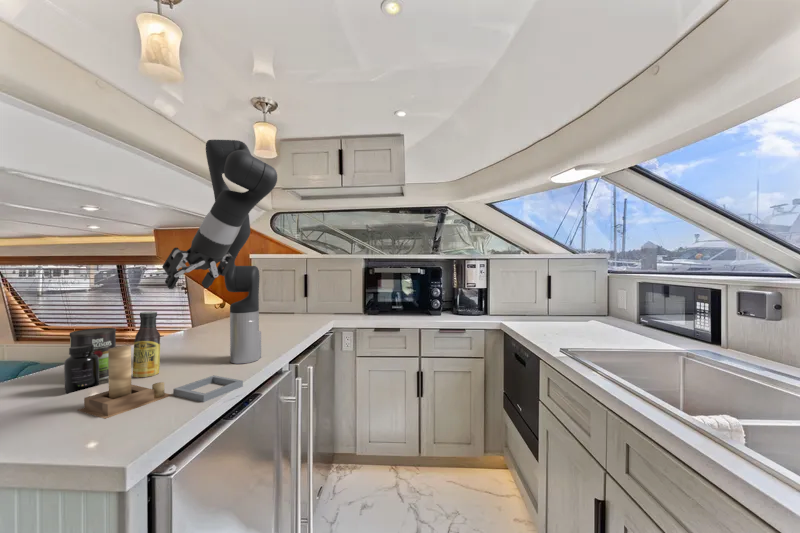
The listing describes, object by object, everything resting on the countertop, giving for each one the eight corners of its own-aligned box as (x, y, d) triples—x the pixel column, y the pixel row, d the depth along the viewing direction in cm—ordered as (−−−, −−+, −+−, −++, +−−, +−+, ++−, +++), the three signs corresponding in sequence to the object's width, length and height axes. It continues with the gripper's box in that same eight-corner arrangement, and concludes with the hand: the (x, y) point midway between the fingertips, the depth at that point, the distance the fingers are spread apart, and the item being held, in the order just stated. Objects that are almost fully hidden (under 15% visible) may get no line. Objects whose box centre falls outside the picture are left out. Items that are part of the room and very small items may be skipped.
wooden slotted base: (146, 394, 87) (145, 377, 87) (173, 400, 83) (173, 382, 83) (77, 416, 75) (76, 396, 75) (105, 425, 70) (104, 404, 70)
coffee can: (120, 376, 102) (120, 329, 102) (73, 386, 94) (73, 335, 94) (111, 370, 108) (111, 326, 108) (66, 378, 100) (66, 331, 100)
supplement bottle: (64, 390, 90) (64, 345, 90) (98, 384, 95) (98, 341, 95) (64, 397, 86) (63, 350, 86) (100, 390, 90) (99, 345, 90)
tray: (213, 386, 93) (213, 375, 93) (242, 392, 89) (242, 380, 89) (173, 400, 83) (173, 388, 83) (203, 408, 79) (203, 395, 79)
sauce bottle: (128, 384, 95) (127, 314, 95) (139, 377, 101) (138, 311, 101) (155, 382, 96) (154, 313, 96) (164, 375, 102) (163, 310, 102)
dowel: (125, 399, 80) (124, 345, 80) (135, 402, 78) (134, 346, 78) (104, 406, 76) (104, 349, 76) (115, 409, 75) (114, 350, 75)
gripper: (236, 228, 85) (207, 276, 90) (178, 218, 73) (148, 276, 77) (251, 246, 83) (221, 295, 87) (194, 239, 70) (162, 298, 74)
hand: (187, 286), depth 82 cm, fingers open, 8 cm apart
